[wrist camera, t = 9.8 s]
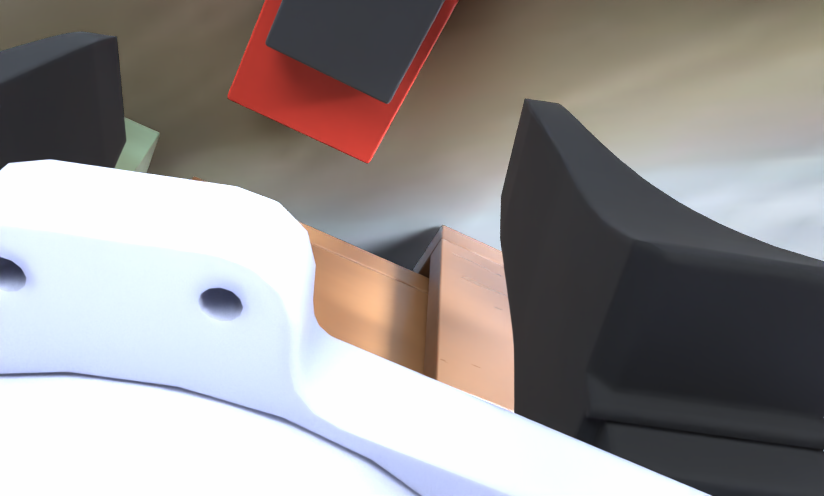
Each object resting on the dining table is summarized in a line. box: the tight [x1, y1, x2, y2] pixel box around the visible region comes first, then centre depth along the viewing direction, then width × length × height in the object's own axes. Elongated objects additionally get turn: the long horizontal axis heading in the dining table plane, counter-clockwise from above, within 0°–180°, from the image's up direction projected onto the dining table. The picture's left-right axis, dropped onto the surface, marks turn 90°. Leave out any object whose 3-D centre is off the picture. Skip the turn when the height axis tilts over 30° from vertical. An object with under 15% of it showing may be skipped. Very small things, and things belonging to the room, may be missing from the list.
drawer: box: [114, 117, 429, 375], centre depth 24 cm, size 17×11×6 cm, turn 63°
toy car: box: [227, 0, 459, 163], centre depth 19 cm, size 7×4×4 cm, turn 153°
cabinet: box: [412, 225, 514, 413], centre depth 27 cm, size 13×12×8 cm
